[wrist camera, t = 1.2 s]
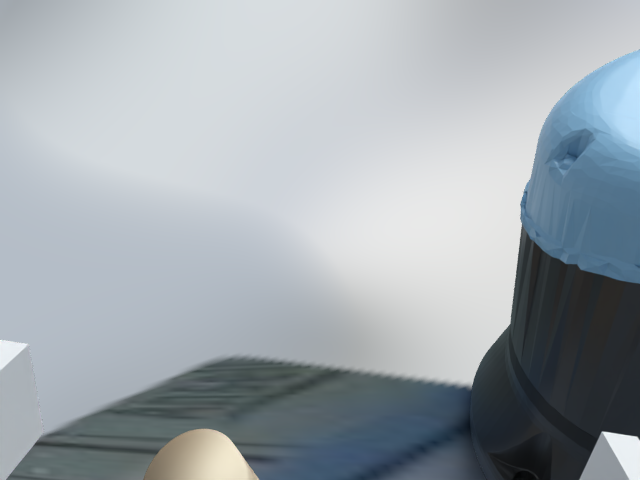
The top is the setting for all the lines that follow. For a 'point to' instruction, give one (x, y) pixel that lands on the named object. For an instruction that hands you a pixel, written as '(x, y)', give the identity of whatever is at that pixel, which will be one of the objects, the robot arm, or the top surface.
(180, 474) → the wooden peg with base
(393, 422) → the top surface
